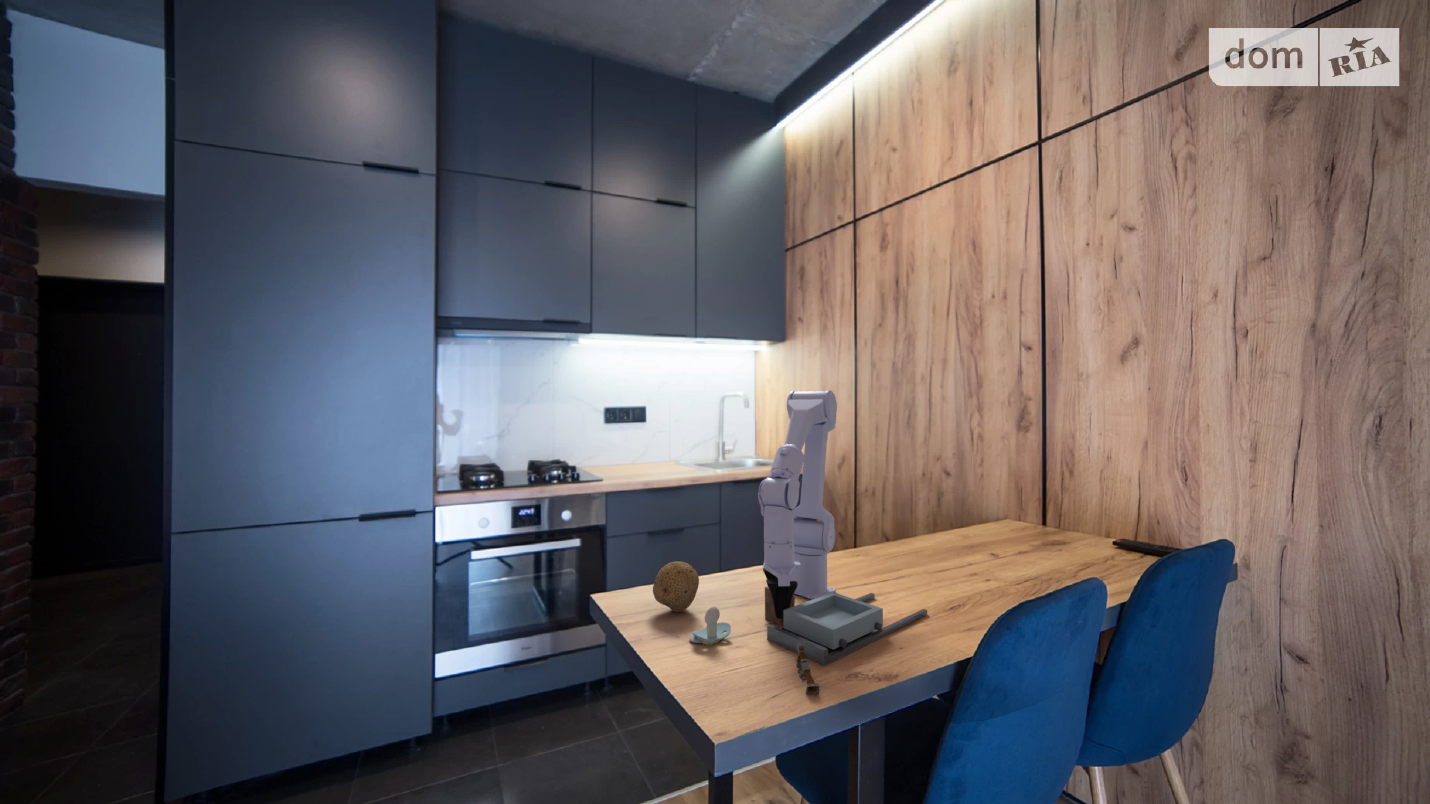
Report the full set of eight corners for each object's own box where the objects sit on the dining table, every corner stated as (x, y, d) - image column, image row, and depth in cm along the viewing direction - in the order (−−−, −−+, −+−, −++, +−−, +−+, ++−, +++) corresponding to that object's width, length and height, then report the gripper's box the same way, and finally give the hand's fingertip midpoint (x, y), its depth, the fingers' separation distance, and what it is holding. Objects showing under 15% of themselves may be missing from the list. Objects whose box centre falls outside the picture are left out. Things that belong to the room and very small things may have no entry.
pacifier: (681, 641, 95) (702, 652, 90) (680, 605, 95) (701, 614, 90) (713, 630, 99) (735, 639, 95) (712, 595, 99) (734, 603, 95)
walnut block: (765, 618, 103) (764, 587, 103) (779, 613, 106) (779, 582, 106) (780, 625, 100) (779, 592, 100) (794, 619, 103) (794, 587, 103)
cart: (780, 626, 96) (780, 609, 97) (830, 607, 105) (830, 591, 105) (837, 651, 87) (836, 631, 87) (886, 627, 96) (886, 609, 96)
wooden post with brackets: (802, 660, 85) (805, 639, 83) (816, 706, 78) (820, 684, 76) (791, 660, 85) (793, 639, 83) (804, 707, 78) (807, 685, 76)
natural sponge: (661, 624, 101) (660, 571, 101) (647, 608, 109) (646, 558, 110) (705, 616, 105) (705, 564, 105) (688, 600, 113) (688, 553, 113)
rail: (767, 639, 94) (767, 625, 94) (871, 597, 114) (871, 586, 114) (824, 666, 85) (824, 650, 85) (927, 615, 104) (927, 602, 104)
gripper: (806, 550, 96) (807, 626, 96) (794, 531, 110) (795, 597, 110) (766, 551, 96) (767, 627, 96) (759, 531, 110) (760, 597, 110)
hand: (779, 611), depth 103 cm, fingers closed on walnut block, 6 cm apart
